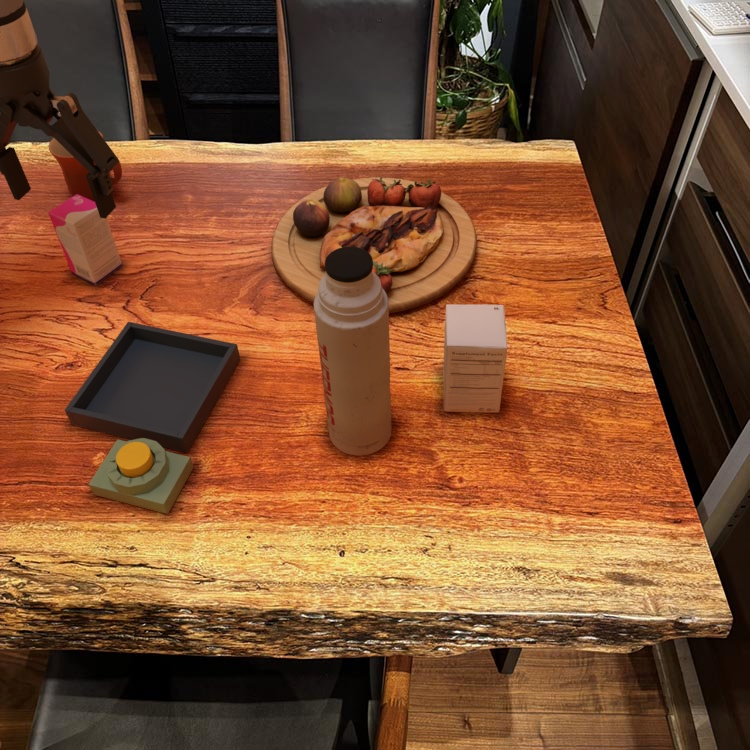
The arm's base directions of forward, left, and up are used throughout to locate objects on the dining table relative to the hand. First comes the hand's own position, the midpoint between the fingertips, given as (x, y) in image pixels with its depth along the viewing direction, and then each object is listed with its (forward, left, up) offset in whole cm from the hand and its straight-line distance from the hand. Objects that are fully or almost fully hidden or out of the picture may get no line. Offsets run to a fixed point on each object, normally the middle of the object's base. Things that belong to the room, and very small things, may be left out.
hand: (65, 203), depth 108 cm
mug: (-12, +22, -17) cm, 30 cm away
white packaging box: (+58, -4, -17) cm, 60 cm away
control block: (+23, -29, -16) cm, 40 cm away
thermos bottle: (+46, -14, -17) cm, 51 cm away
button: (+23, -29, -13) cm, 39 cm away
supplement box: (-3, +5, -17) cm, 18 cm away
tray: (+18, -15, -16) cm, 29 cm away
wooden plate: (+37, +21, -17) cm, 45 cm away
